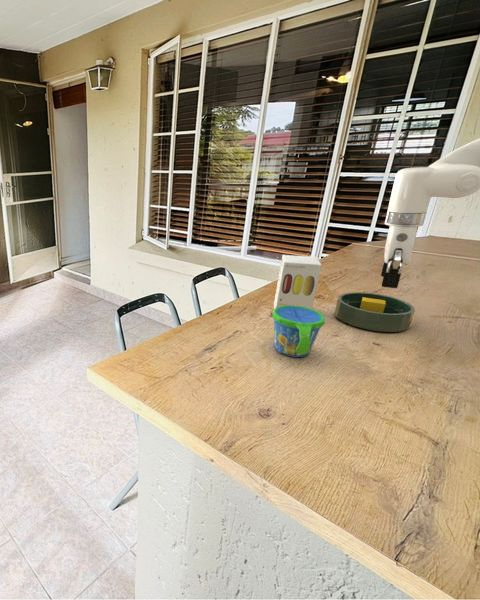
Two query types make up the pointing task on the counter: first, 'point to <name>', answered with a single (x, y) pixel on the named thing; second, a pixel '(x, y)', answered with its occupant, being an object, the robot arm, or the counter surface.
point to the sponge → (373, 305)
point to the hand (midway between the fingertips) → (388, 281)
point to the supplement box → (297, 281)
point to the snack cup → (296, 329)
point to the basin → (390, 320)
